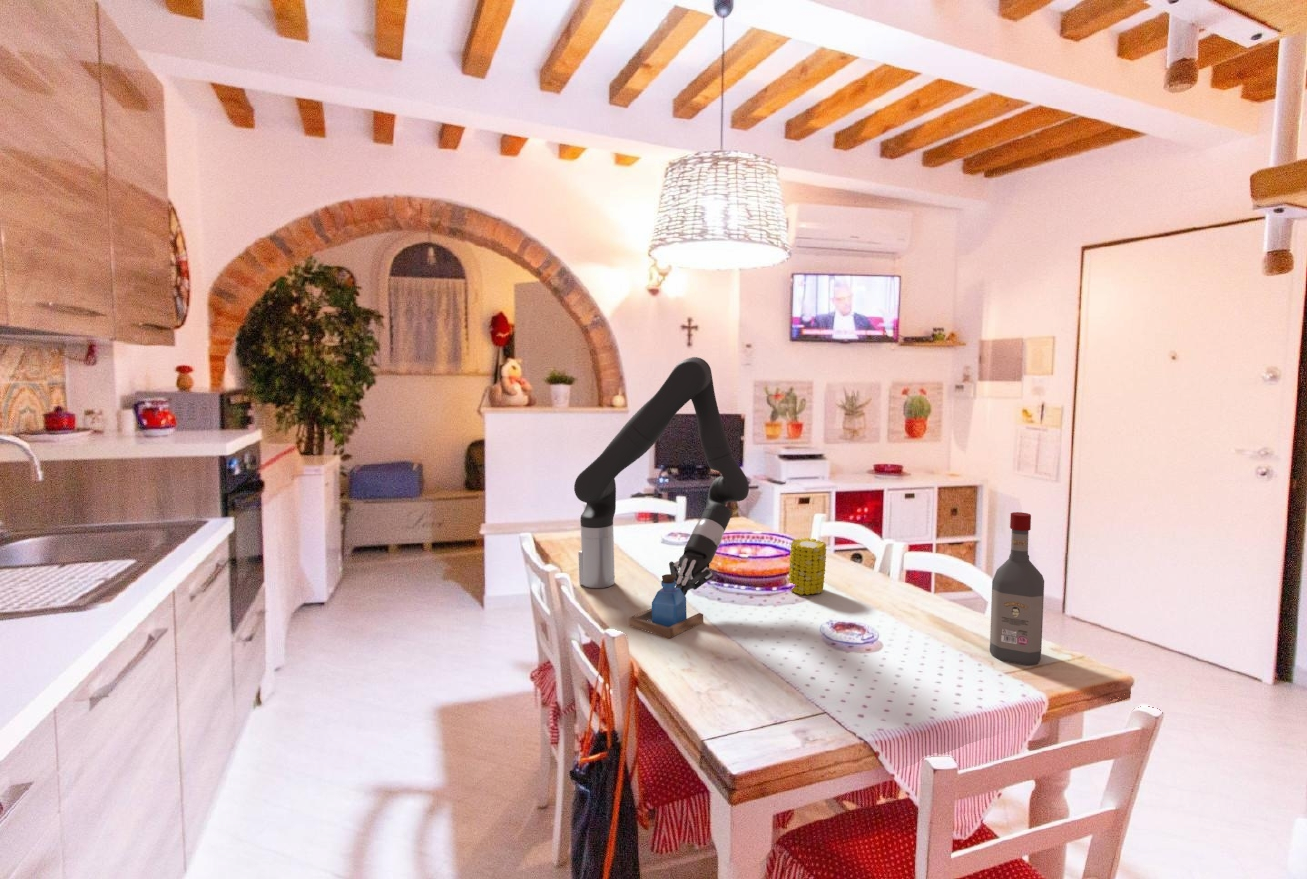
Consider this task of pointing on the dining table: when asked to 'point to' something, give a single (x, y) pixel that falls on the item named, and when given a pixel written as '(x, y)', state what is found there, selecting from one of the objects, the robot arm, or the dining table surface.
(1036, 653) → the liquor
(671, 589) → the perfume bottle
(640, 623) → the frame
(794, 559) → the food
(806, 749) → the dining table surface
